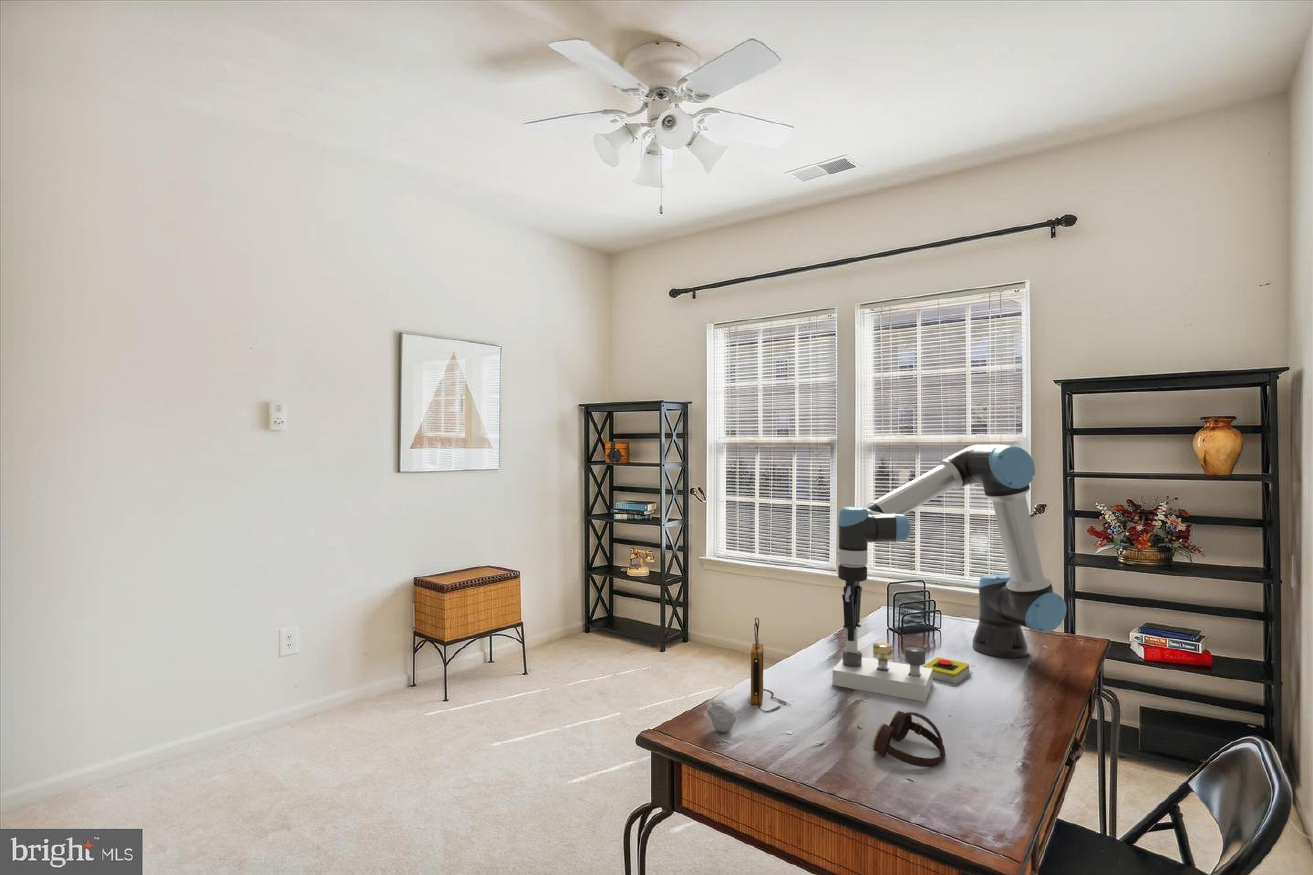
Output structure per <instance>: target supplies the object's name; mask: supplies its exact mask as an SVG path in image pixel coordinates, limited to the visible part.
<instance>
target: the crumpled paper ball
mask: <svg viewBox="0 0 1313 875" xmlns="http://www.w3.org/2000/svg"><path fill="white" fill-rule="evenodd" d="M706 710H707V711H706V714H707V715H708V717H709V719H710V720H711V724H712V727H713V728H714V729H715V730H716V731H717V732H720V733H728V732H729V731H730V730H732V729H733V726H734V724H735V723H736V720H737V714H736V712H737V709H735V707H734V706H732V705H730V704H728V703H727V702H724V701H723V700H722V699H711V702H710V704H709V705H708V706H707V707H706Z"/></svg>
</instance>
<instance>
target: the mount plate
mask: <svg viewBox="0 0 1313 875" xmlns="http://www.w3.org/2000/svg"><path fill="white" fill-rule="evenodd" d="M933 682H934V681H933V669H932V668H925V667H923V666H920V677H915V676H910V664H905V663H900V662H893V661H888V672H885V671H879V670H878V659H876V658H875V659H874V658H868V657H862V665H861V666H858V667H852V666H847V665H844V664H843V657H842V658H841V659H840V660H839V661H838V663H837V664H836V665H835V667H834V668H833V669H832V686H835V685H837V687H842V688H846V687H847V688H848V689H851V690H852V689H853V690H858V691H863V692H869V693H873V694H874V693H875V694H879V693H880V695H885V696H892V697H896V698H903V699H906V700H907V699H908V700H913V701H920V702H922V703H923V702H924V703H926V700H927V699H928V697H929V694H930V692H931V688H932V687H933Z"/></svg>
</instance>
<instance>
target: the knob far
mask: <svg viewBox="0 0 1313 875" xmlns="http://www.w3.org/2000/svg"><path fill="white" fill-rule="evenodd" d="M842 658H843V664H844V665H847V666H852V667H858V666H861V665H862V658H863V653H862V652H861V651H860V650H857V653H851V652H846V649H844V650H842Z"/></svg>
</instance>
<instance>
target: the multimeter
mask: <svg viewBox="0 0 1313 875" xmlns="http://www.w3.org/2000/svg"><path fill="white" fill-rule="evenodd" d="M754 622H755V623H754V628H753V629H754V641H755V643H752V645H751V650H750V704H751V705H757V706H758V708H759V711H762V712H764V713H769V712H772V711H776V710H777V709H780V708H781V707H783V706H784V705H790V706H792V704H791V703H788V702H787V701H786V700H784V699H783V700H782V699H780V698H776V697H773V696H774V692H773V691H771V690H769V689H766V688H764V643H760V642H759V641H760V640H759V627H760V619H759V617H755V618H754ZM763 689H764V690H763ZM766 690H767V692H769V691H770V693H771V695H770V697H771V699H775V700H776V701H778V702H779V703H783V704H780V705H779V704H778V705H777V706H775V707H773V708H771V709H769V710H764V709H762V708H761V707H760V705H763V697H764V691H766Z"/></svg>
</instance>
